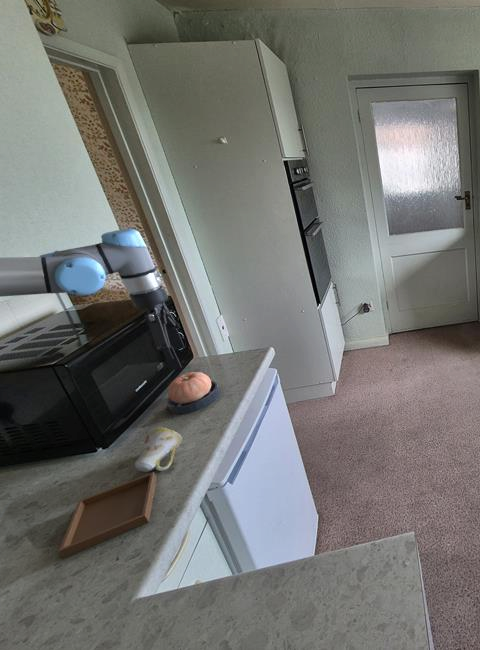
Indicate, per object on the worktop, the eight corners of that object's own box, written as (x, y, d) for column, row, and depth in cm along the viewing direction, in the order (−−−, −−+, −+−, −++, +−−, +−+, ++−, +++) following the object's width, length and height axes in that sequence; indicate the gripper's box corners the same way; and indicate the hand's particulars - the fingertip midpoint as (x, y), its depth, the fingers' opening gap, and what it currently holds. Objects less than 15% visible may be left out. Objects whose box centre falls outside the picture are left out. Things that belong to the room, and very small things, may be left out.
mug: (128, 479, 88) (122, 435, 88) (171, 464, 97) (165, 424, 98) (151, 475, 85) (145, 431, 86) (192, 460, 95) (186, 420, 96)
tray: (63, 558, 71) (57, 551, 70) (83, 506, 81) (78, 500, 80) (148, 521, 76) (145, 515, 76) (157, 477, 87) (153, 471, 86)
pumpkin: (172, 397, 115) (162, 375, 112) (213, 383, 121) (204, 361, 118) (174, 415, 107) (162, 392, 104) (217, 399, 113) (207, 376, 109)
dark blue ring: (167, 420, 106) (163, 413, 105) (171, 397, 117) (168, 390, 116) (220, 402, 112) (217, 395, 111) (219, 381, 122) (217, 375, 121)
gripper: (157, 299, 91) (190, 373, 100) (167, 274, 111) (194, 337, 120) (118, 308, 88) (156, 384, 97) (136, 280, 108) (166, 345, 117)
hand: (177, 358), depth 108 cm, fingers open, 13 cm apart
